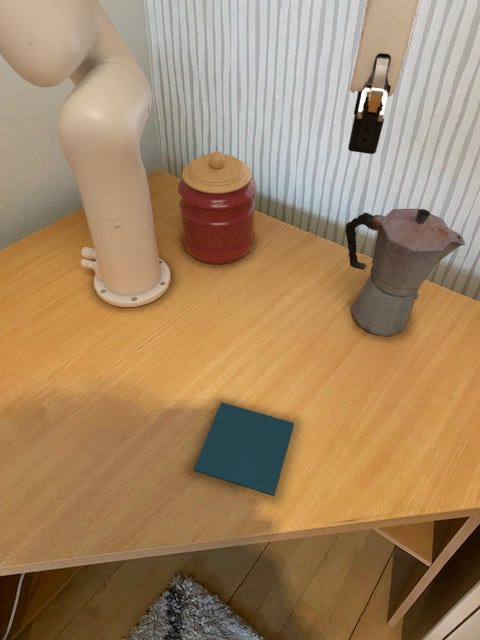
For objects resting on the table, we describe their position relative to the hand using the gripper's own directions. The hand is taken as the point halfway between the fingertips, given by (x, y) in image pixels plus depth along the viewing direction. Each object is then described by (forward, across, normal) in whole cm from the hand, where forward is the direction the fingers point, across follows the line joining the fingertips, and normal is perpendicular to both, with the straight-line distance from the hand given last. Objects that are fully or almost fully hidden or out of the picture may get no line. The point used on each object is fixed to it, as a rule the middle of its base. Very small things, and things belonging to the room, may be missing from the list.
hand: (363, 132), depth 59 cm
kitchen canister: (+28, -8, -21) cm, 36 cm away
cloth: (+27, +31, -7) cm, 42 cm away
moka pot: (+27, +4, +8) cm, 29 cm away
